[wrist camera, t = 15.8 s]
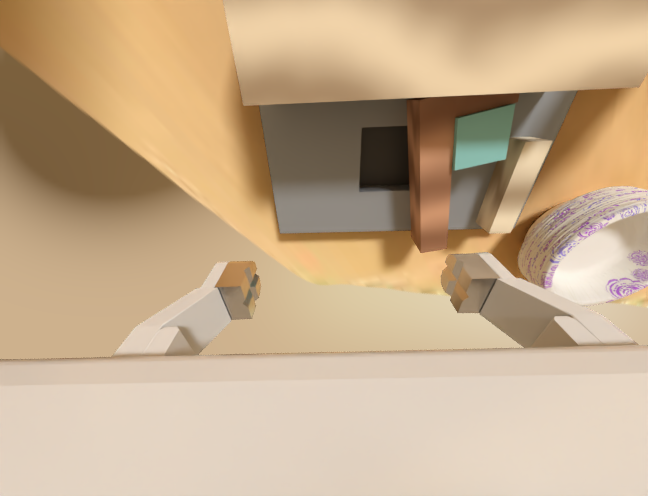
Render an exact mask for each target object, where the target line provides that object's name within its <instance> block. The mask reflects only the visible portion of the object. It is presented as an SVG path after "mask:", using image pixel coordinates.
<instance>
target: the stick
mask: <svg viewBox="0 0 648 496" xmlns="http://www.w3.org/2000/svg"><path fill="white" fill-rule="evenodd" d="M552 142H553V141H551V140H546V139H541V138H535V137H530V136H529V137H510V138H509V144H508V150H507V155H506V159H505V160H500V161H497V163H496V166H495V168H494V171H493V174H492V177H491V180H490V183H489V185H488V188H487V191H486V194H485V197H484V200H483V202H482V205H481V208H480V211H479V214H478V217H477V219H476V223H477V224H478V225H479V226H481V227H482V228H483V229H484V230H485V231H487V232H488V233H511V231H512V229H513V227H514V225H515V222H516V220H517V218H518V216H519V214H520V211H521V209H522V207H523V205H524V203H525V201H526V198H527V196H528V194H529V192H530V190H531V187H532V185H533V183H534V181H535V179H536V177H537V174H538V172H539V170H540V168H541V166H542V163H543V161H544V159H545V157H546V155H547V153H548V150H549V148H550V146H551V144H552Z"/></svg>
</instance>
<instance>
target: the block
mask: <svg viewBox="0 0 648 496" xmlns="http://www.w3.org/2000/svg"><path fill="white" fill-rule="evenodd" d="M514 110H515V104H508V105H504V106H500V107H496V108H492V109H488V110H484V111H480V112H476V113H472V114H468V115H464V116H459V117H455V129H454V145H453V160H452V169H453V170H454V171H455V170H460V169H464V168H469V167H473V166H478V165H482V164H487V163H491V162H496V161H500V160H505V159H506V155H507V150H508V144H509V138H510V132H511V127H512V121H513V115H514Z"/></svg>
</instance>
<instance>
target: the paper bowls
mask: <svg viewBox="0 0 648 496" xmlns="http://www.w3.org/2000/svg"><path fill="white" fill-rule="evenodd" d="M518 266H519V270H520V271H521V273H522V274H523V276H524V277H525V278H526V279H527V280H528V281H529V282H531V283H532V284H535V285H537V286H539V287H541V288H544V289H546V290H548V291H550V292H552V293H555V294H557V295H559V296H561V297H564V298H566V299H568V300H570V301H573V302H575V303H577V304H579V305H582V306H591V305H597V304H603V303H607V302H611V301H614V300H617V299H620V298H623V297H625V296H628V295H631V294H632V293H635V292H637V291H639V290H641V289H643V288H645V287H647V286H648V190H645V189H640V188H636V187H631V186H616V187H607V188H603V189H599V190H596V191H593V192H590V193H587V194H584V195H582V196H579V197H577V198H575V199H573V200H570V201H567V202H564V203H561V204H559V205H557V206H555V207H553V208H552V209H550V210H549V211H547V212H546V213H544V214H543V215H542V216H540V217H539V218H538V219H537V220H536V221H535V222H534V223H533V225H532V226H531V227H530V229H529V230H528V232H527V234H526V236H525V239H524V242H523V244H522V246H521V249H520V251H519V255H518Z"/></svg>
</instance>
